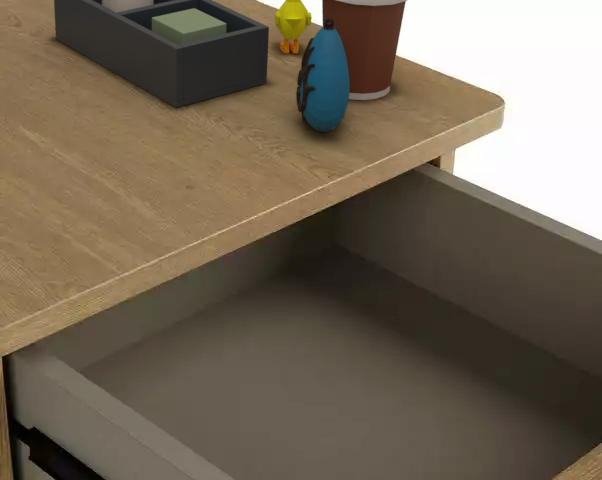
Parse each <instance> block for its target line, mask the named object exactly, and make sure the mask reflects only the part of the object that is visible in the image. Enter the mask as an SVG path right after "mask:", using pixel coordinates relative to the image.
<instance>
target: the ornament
mask: <svg viewBox="0 0 602 480" xmlns="http://www.w3.org/2000/svg"><path fill="white" fill-rule="evenodd" d="M328 22H331V24H327V23H328ZM300 64H301V65H300V67H301V68H300V69H299V71H298V73H297V78H296V79H297V80H296V81H297V82H296V84H297V87H296V93H295V98H296V99H295V100H296V105H297V110H298V112H299V113H301V120H302V122H307V123H308V124H309V126H311V127H312V128H314V130H316V131H319V132H323V133H326V132H330V131H332V130H334V129H335V128H337V127H338V126H339V125H340V124H341V122H342V121H343V119H344V117H345V115H346V112H347V109H348V105H349V100H350V99H349V72H348V65H347V59H346V55H345V51H344V47H343V44H342V41H341V38H340V36H339V34H338V32H337V31H336V30H335V29H334V20H333V19H332V18H327V19H326V20H325V22H324V27H323V26H322V27H320V28H319V30H318V31H317V32H316V33H315V35H314V37H311V38H310V39H309V40H308V43H307V45H306V48H305V50H304V52H303V55H302V57H301V63H300Z"/></svg>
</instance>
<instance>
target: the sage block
mask: <svg viewBox="0 0 602 480" xmlns="http://www.w3.org/2000/svg"><path fill="white" fill-rule="evenodd" d="M226 25H227V24H226V23H224V22H222V21H220V20H218V19H216V18H214V17H212V16H210V15H208V14H206V13H204V12H201V11H199V10H197V9H195V8H193V9H188V10H184V11H179V12H175V13H170V14H166V15H161V16H157V17H152V31H153V32H155V33H156V34H158V35H160V36H162V37H164V38H166V39H168V40H170V41H172V42H174V43H176V44H178V45H179V44H184V43H188V42H192V41H196V40H201V39H205V38H209V37H213V36H217V35H222V34H226Z"/></svg>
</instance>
